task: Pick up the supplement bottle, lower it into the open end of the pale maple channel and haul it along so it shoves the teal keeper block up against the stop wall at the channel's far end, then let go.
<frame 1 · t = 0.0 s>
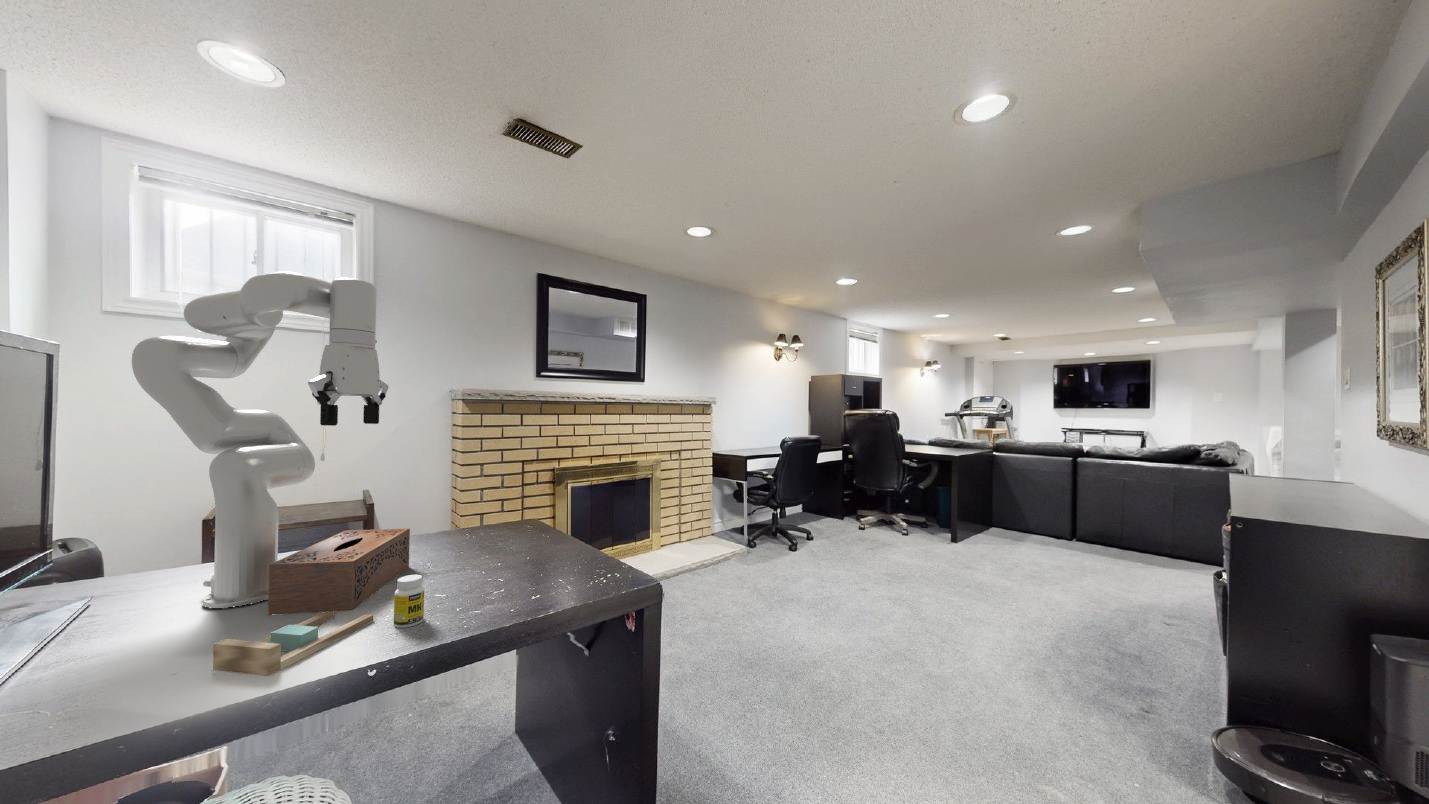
hand: (351, 424, 98), 37 cm above the table, tool pointing down, fingers open, 9 cm apart
track: (306, 640, 83), on the table
tissue box cover: (347, 590, 106), on the table
supplement bottle: (408, 623, 90), on the table
keeper: (294, 638, 81), point 1 cm above the table, slide at 0.0 cm
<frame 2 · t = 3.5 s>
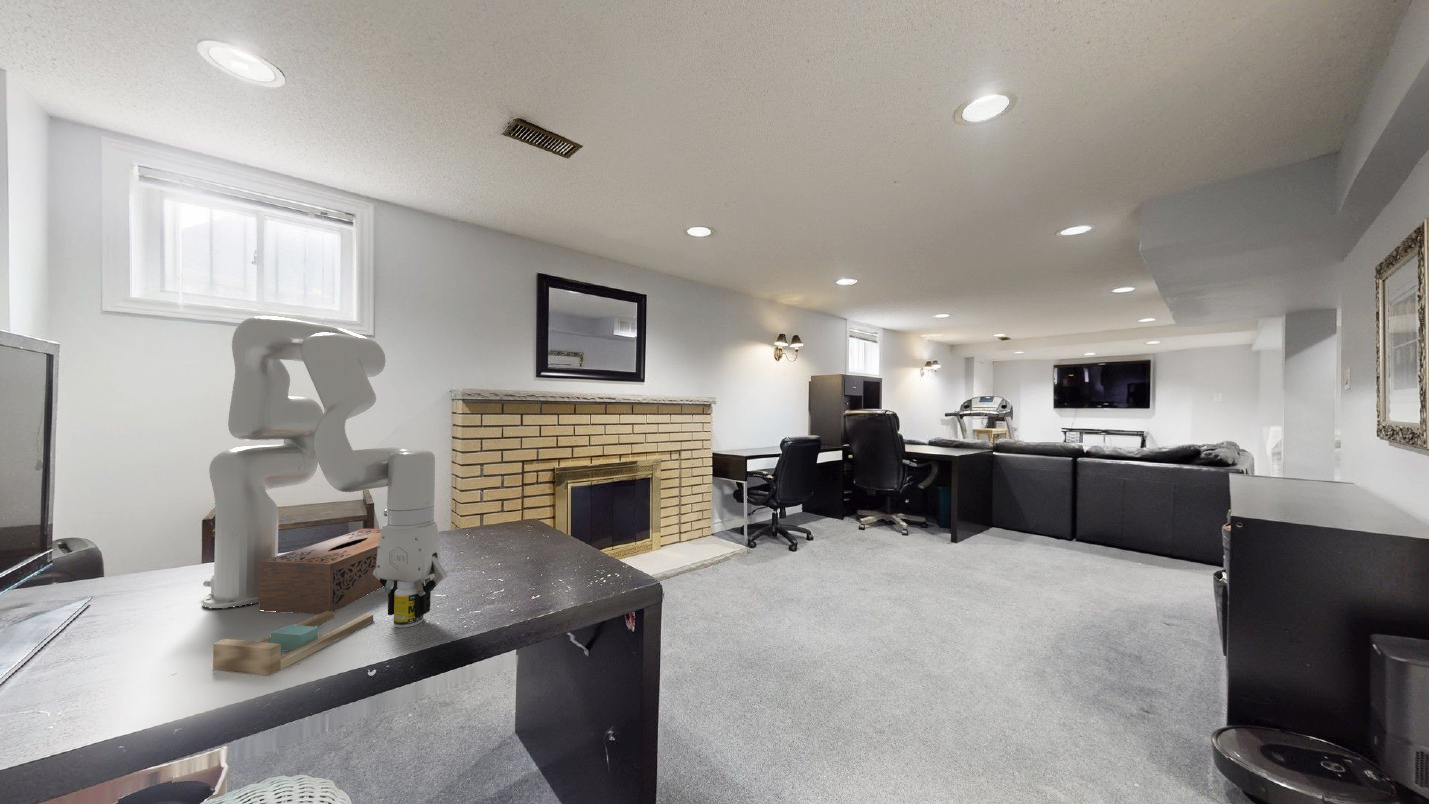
hand: (409, 612, 90), 2 cm above the table, tool pointing down, fingers closed on supplement bottle, 4 cm apart
supplement bottle: (408, 623, 90), on the table, touching gripper
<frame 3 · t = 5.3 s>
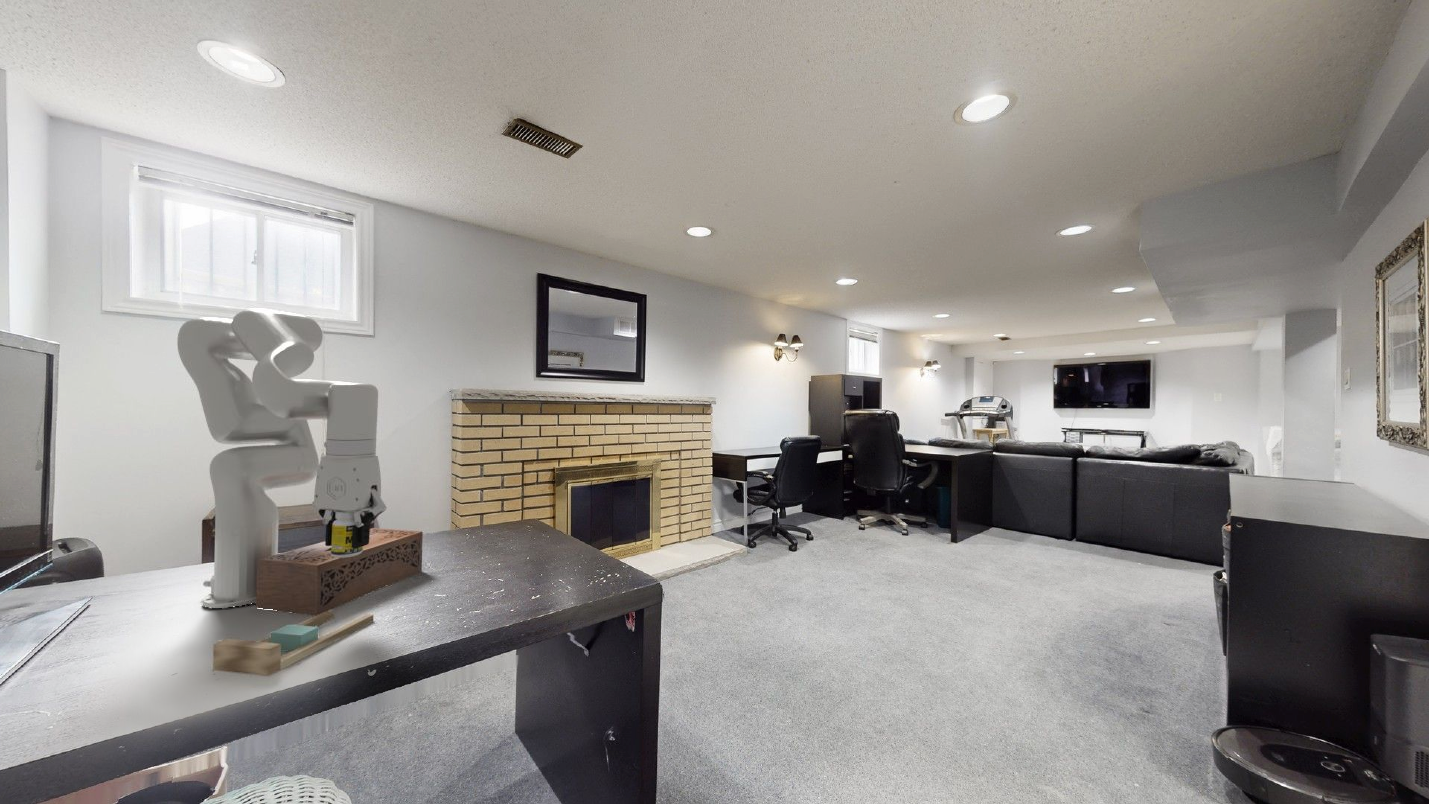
hand: (347, 544, 90), 15 cm above the table, tool pointing down, fingers closed on supplement bottle, 4 cm apart
supplement bottle: (347, 555, 90), point 12 cm above the table, touching gripper
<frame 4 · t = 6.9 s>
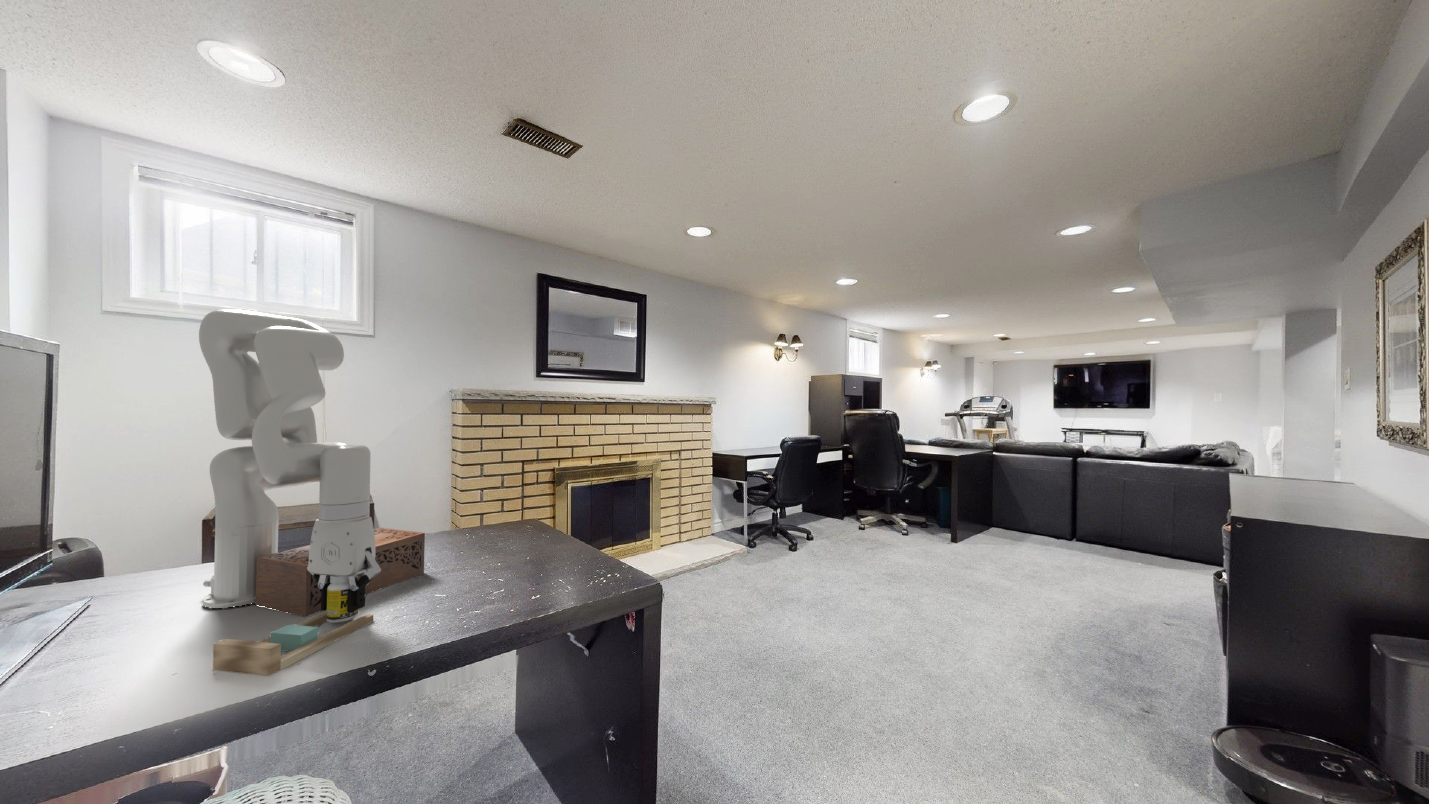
hand: (343, 607, 90), 3 cm above the table, tool pointing down, fingers closed on supplement bottle, 4 cm apart
supplement bottle: (342, 618, 90), point 1 cm above the table, touching gripper
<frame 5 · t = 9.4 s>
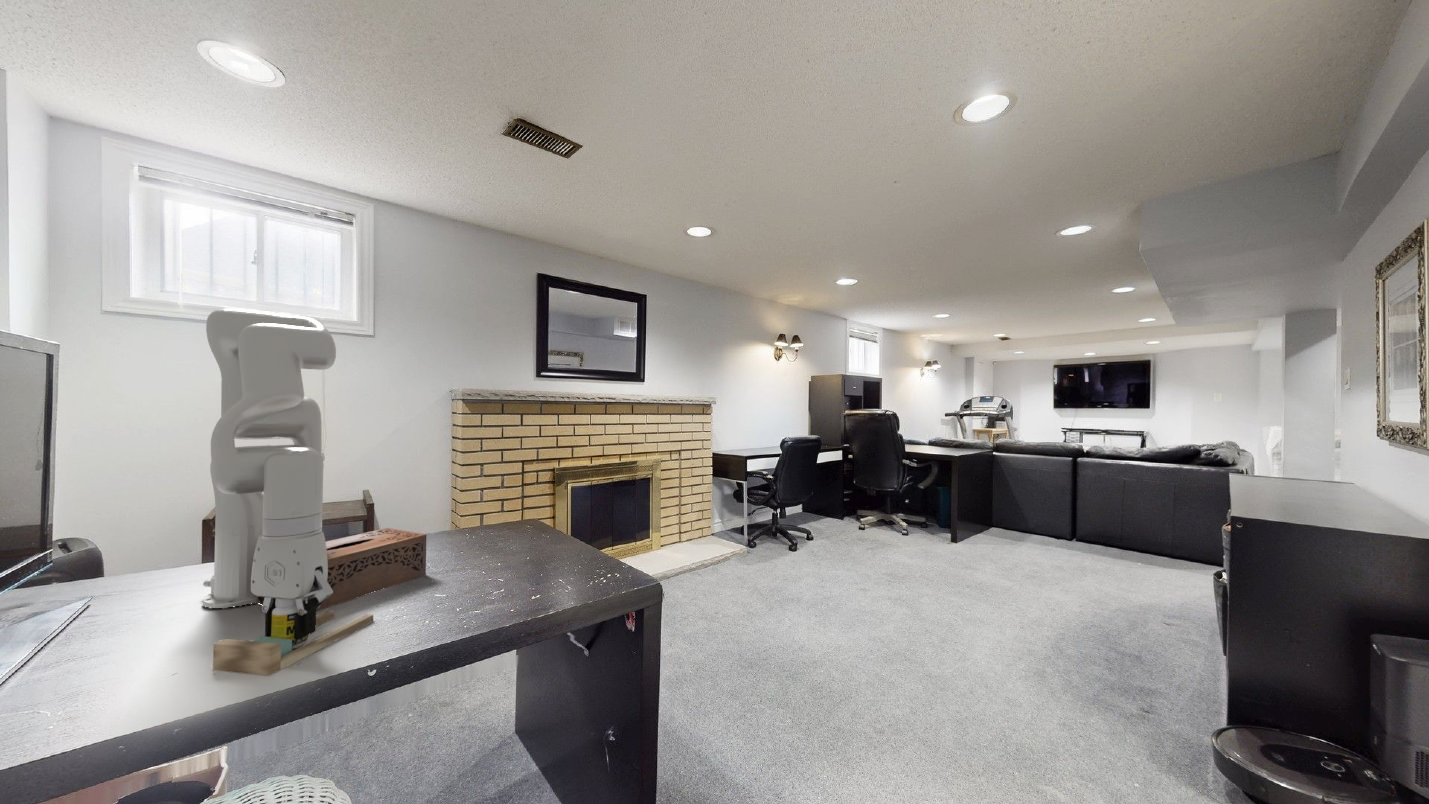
hand: (290, 633, 80), 2 cm above the table, tool pointing down, fingers closed on supplement bottle, 4 cm apart
supplement bottle: (290, 646, 80), resting in track, touching gripper
keeper: (266, 651, 76), point 1 cm above the table, slide at 4.5 cm
when the fingers open (2 cm above the table, at t = 10.4 s): supplement bottle stays where it is, resting in track.
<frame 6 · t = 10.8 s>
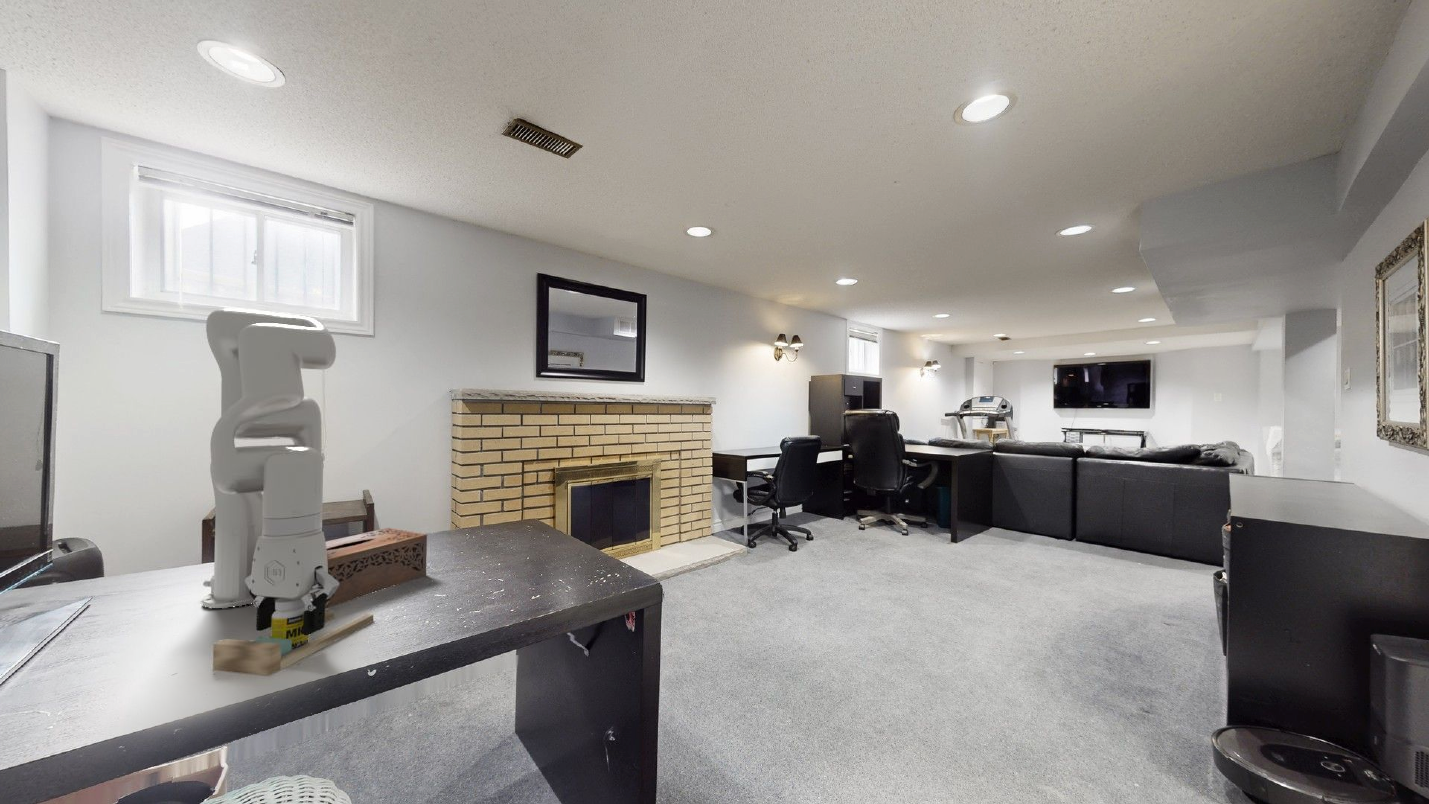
hand: (290, 629, 80), 3 cm above the table, tool pointing down, fingers open, 8 cm apart
supplement bottle: (289, 649, 80), resting in track
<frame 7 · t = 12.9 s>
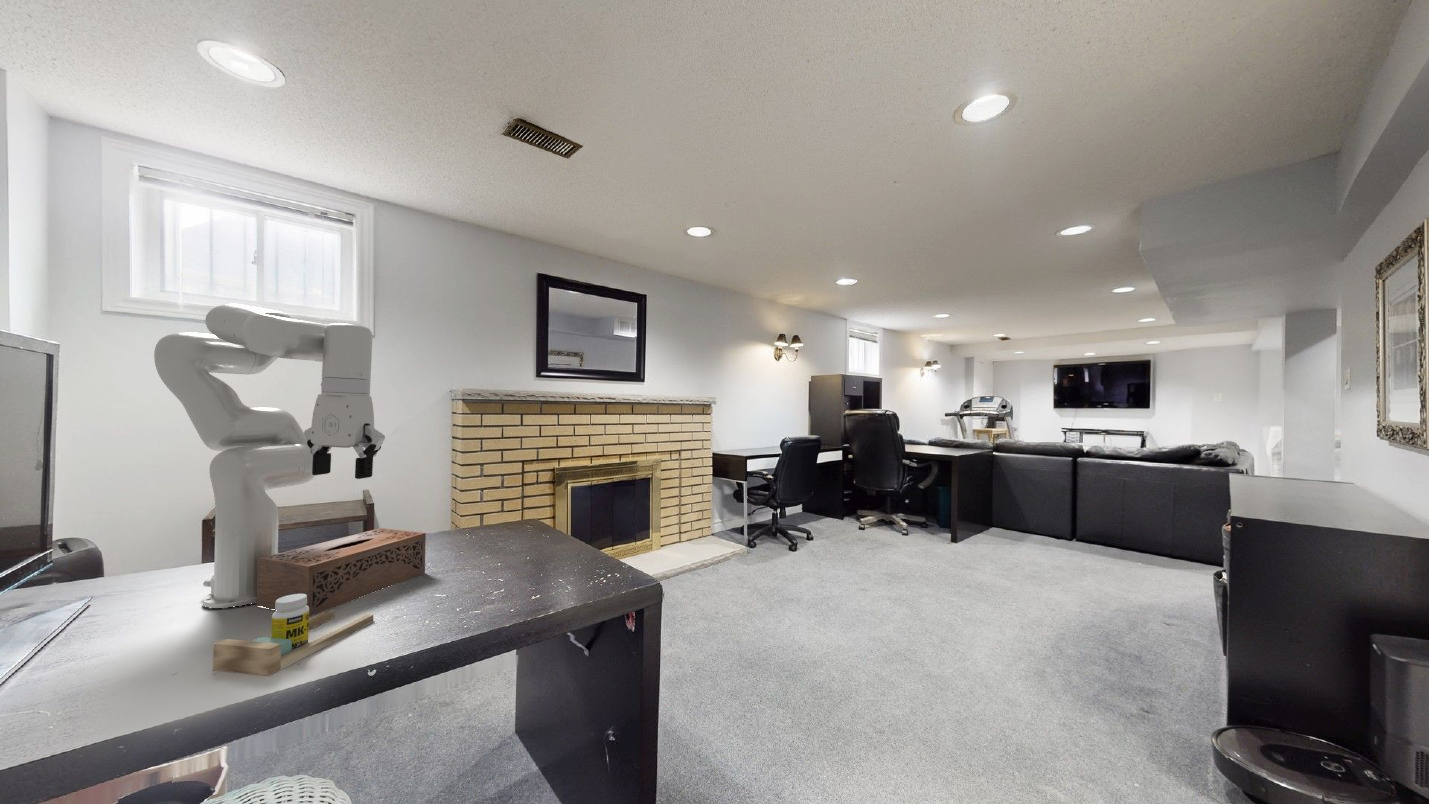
hand: (342, 476, 93), 27 cm above the table, tool pointing down, fingers open, 9 cm apart
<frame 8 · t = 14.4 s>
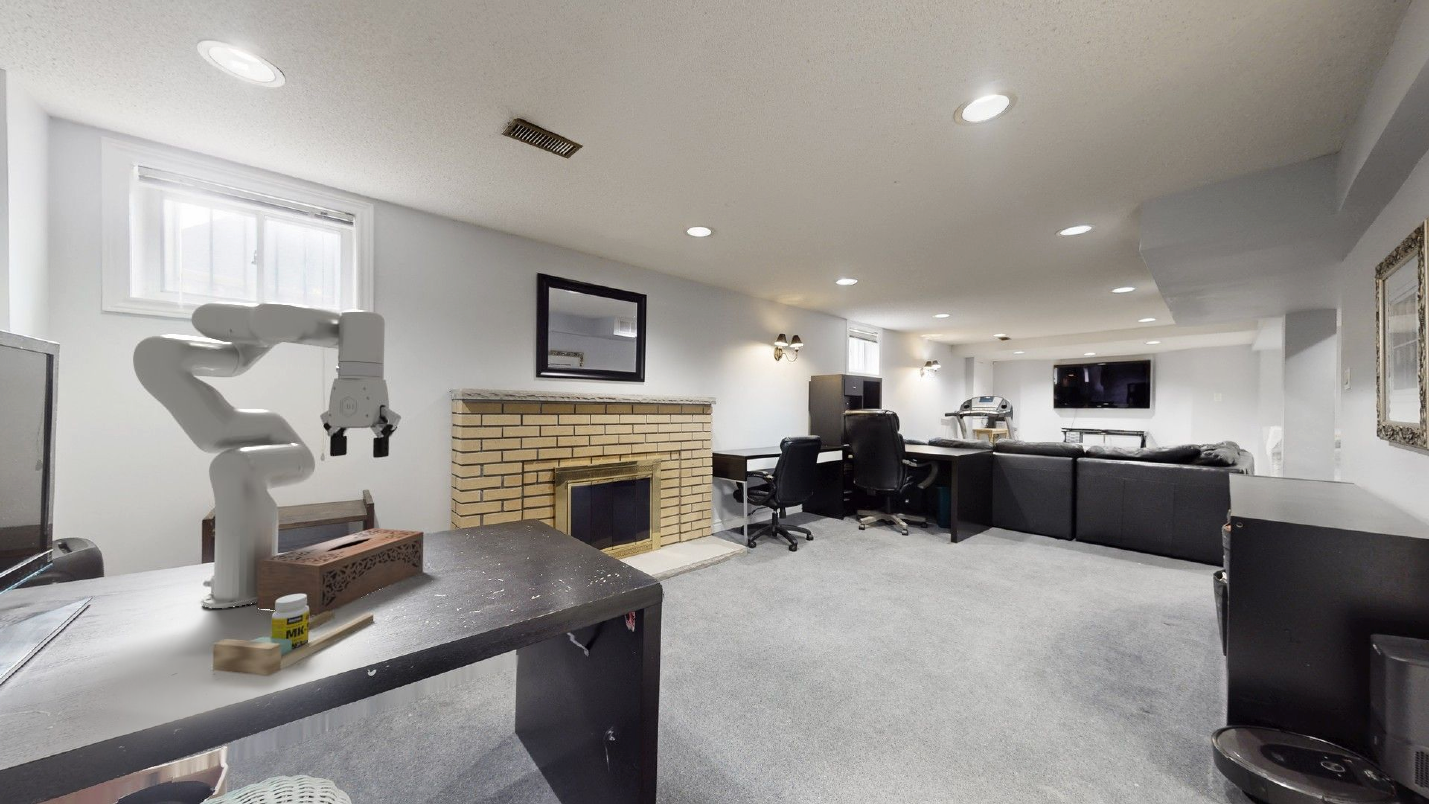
hand: (359, 456, 97), 30 cm above the table, tool pointing down, fingers open, 9 cm apart
at the end: keeper slide at 4.5 cm; supplement bottle inside the target area (0.2 cm from its centre), resting in track; supplement bottle tilted 0° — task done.
